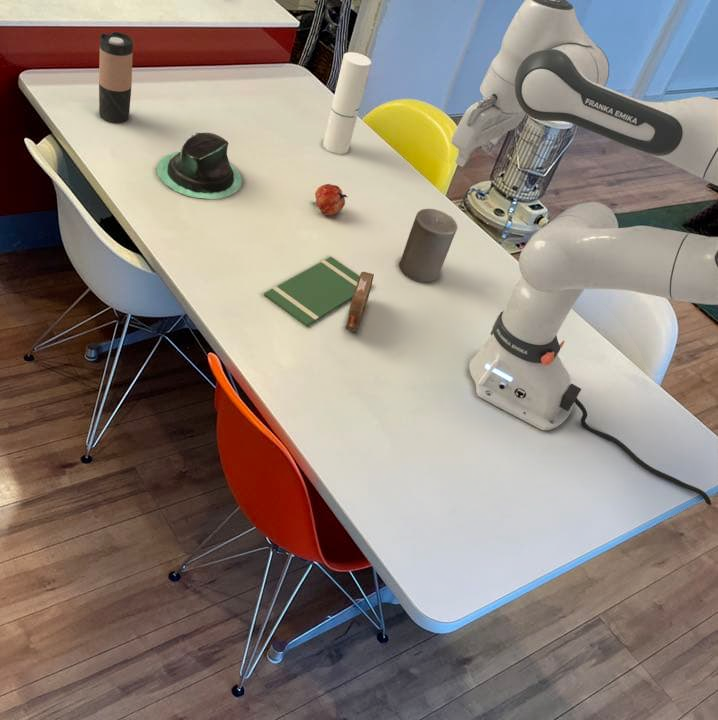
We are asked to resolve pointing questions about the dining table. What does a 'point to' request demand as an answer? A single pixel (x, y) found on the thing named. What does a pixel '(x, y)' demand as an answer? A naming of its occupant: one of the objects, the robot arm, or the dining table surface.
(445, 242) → the pillar candle
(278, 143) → the dining table surface
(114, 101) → the travel mug
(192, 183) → the hat
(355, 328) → the tin
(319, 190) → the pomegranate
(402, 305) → the dining table surface
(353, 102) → the cylindrical container
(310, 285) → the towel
